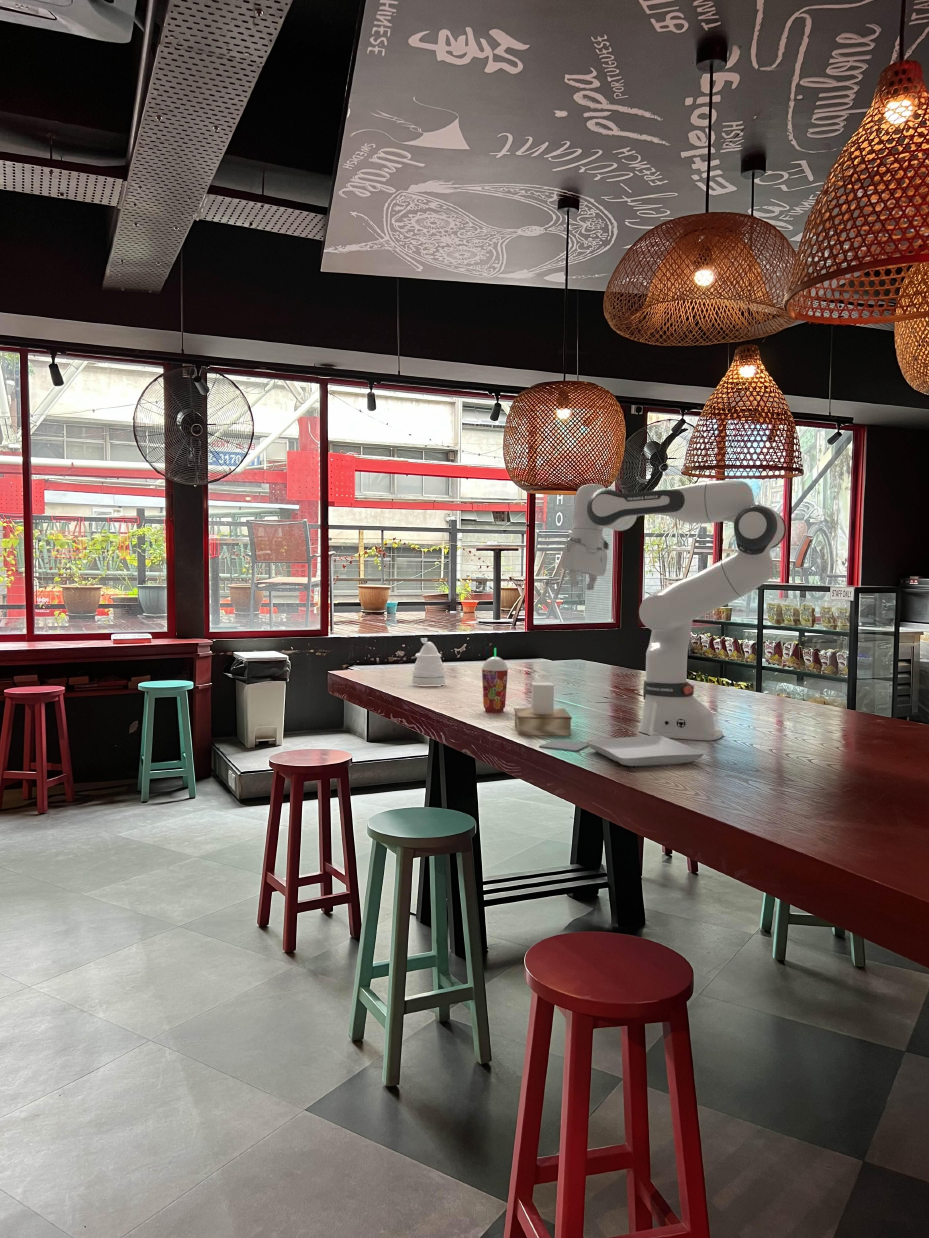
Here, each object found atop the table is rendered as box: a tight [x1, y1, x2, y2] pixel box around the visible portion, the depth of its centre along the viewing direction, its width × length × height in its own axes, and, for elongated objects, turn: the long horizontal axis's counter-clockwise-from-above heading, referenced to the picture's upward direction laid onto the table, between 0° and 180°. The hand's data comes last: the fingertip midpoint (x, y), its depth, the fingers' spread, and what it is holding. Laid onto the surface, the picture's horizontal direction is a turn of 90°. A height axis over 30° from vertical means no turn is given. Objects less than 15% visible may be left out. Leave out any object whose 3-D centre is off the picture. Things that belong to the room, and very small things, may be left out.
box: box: [513, 707, 572, 736], centre depth 238 cm, size 14×14×8 cm
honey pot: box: [411, 637, 446, 685], centre depth 333 cm, size 13×13×18 cm
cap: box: [530, 681, 555, 714], centre depth 238 cm, size 6×6×8 cm
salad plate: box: [585, 735, 705, 767], centre depth 204 cm, size 21×21×3 cm
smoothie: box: [481, 647, 509, 714], centre depth 270 cm, size 8×8×20 cm
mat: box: [538, 738, 589, 753], centre depth 217 cm, size 10×10×1 cm
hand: (582, 588), depth 247 cm, fingers open, 8 cm apart
